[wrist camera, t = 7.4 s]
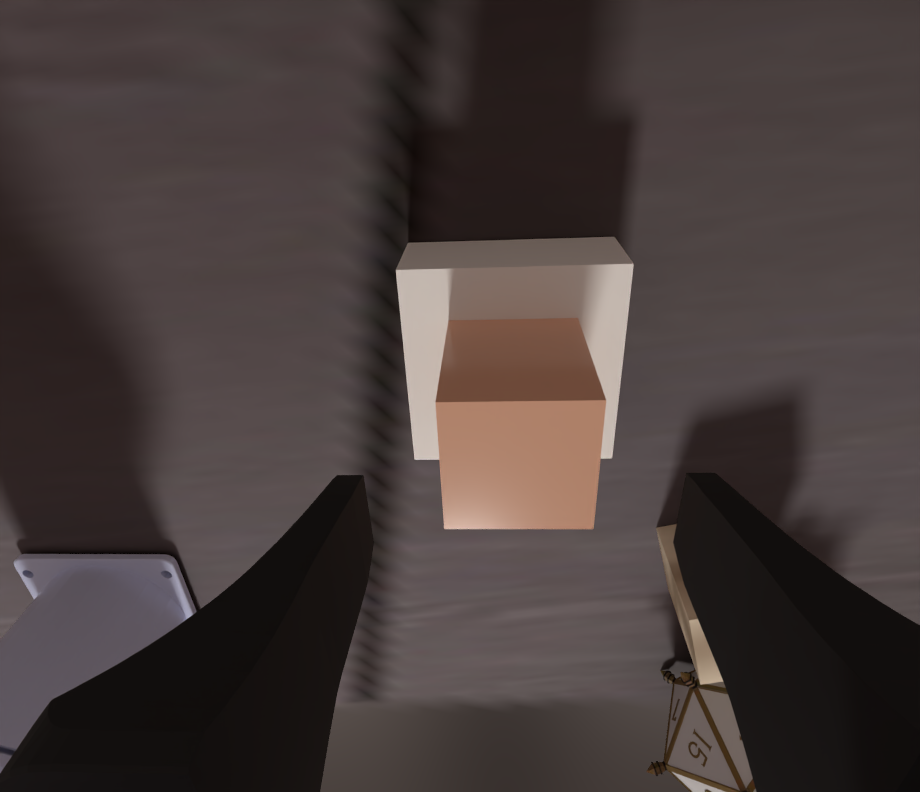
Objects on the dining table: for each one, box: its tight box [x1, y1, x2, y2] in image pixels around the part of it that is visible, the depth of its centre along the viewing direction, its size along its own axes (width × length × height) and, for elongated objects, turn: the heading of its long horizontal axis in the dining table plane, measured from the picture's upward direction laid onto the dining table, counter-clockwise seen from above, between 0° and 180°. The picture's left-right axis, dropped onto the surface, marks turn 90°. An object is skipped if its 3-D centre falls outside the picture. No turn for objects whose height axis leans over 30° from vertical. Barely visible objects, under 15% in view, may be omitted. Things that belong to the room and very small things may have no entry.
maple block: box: [656, 524, 723, 685], centre depth 24 cm, size 4×4×5 cm
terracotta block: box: [435, 318, 606, 529], centre depth 17 cm, size 4×4×5 cm
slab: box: [396, 237, 634, 460], centre depth 20 cm, size 7×7×3 cm
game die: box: [647, 670, 756, 792], centre depth 27 cm, size 9×8×10 cm
